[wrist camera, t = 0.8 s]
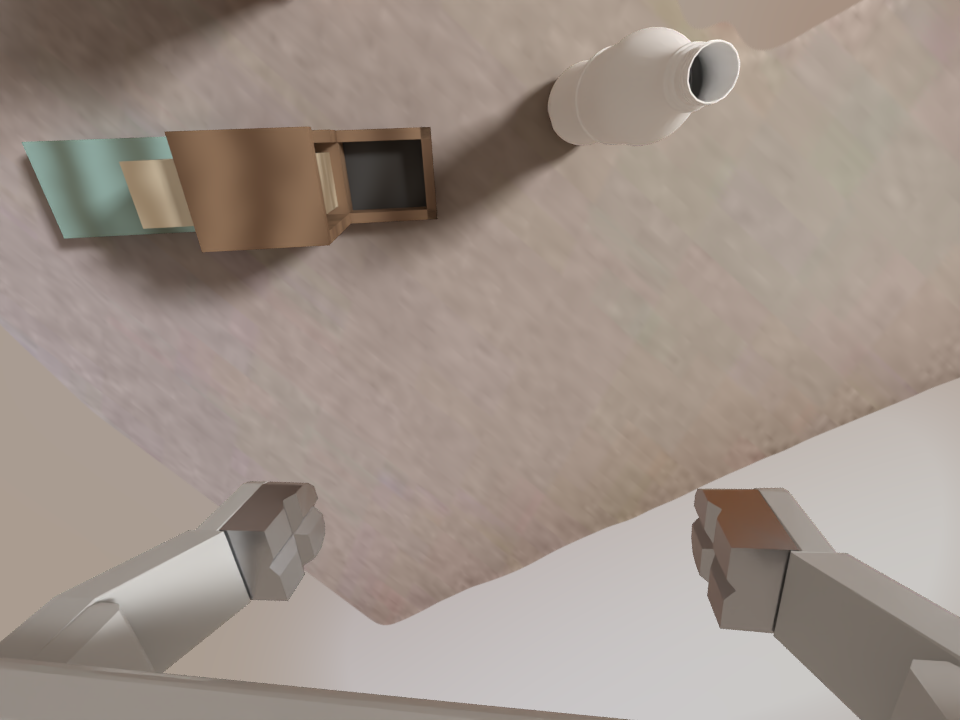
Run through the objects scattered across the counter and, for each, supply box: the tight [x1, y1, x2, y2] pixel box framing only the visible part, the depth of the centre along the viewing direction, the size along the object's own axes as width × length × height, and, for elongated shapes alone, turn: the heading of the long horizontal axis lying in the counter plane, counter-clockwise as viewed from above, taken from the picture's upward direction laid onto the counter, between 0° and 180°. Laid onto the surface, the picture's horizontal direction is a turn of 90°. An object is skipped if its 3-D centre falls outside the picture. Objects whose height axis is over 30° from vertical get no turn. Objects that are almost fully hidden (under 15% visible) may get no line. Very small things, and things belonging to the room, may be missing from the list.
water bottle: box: [548, 27, 740, 146], centre depth 35 cm, size 7×7×25 cm
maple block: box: [119, 152, 338, 229], centre depth 40 cm, size 14×5×9 cm, turn 92°
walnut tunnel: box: [22, 127, 437, 252], centre depth 40 cm, size 37×9×14 cm, turn 92°
